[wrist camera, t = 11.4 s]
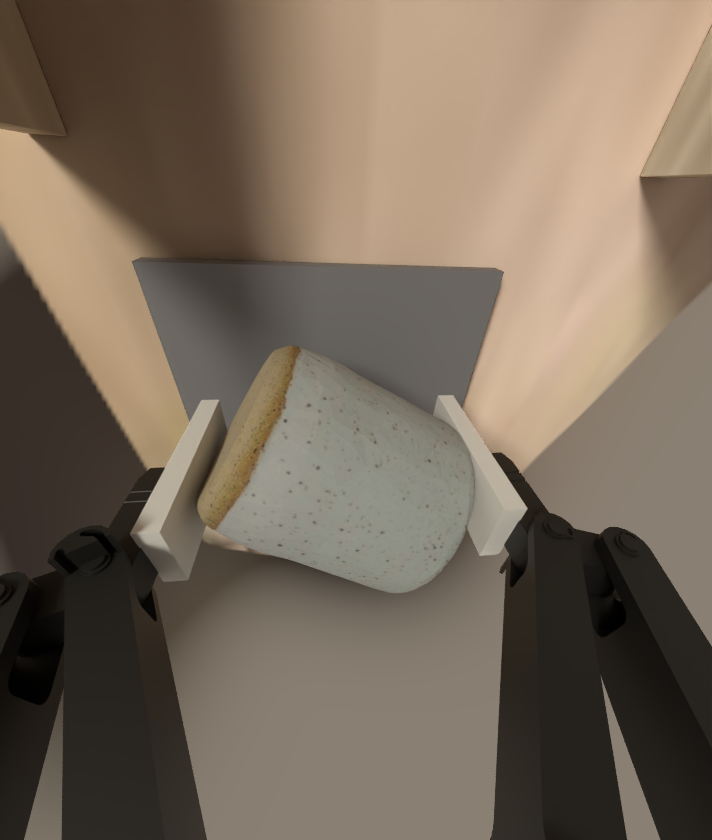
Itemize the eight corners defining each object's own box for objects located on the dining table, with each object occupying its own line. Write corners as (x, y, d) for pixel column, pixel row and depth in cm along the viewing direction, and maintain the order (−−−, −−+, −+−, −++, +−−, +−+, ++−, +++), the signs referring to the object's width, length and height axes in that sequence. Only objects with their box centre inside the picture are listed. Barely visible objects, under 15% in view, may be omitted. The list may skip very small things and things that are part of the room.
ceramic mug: (287, 300, 12) (252, 430, 6) (440, 391, 15) (520, 534, 9) (200, 468, 17) (134, 630, 11) (329, 508, 20) (333, 649, 14)
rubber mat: (216, 478, 20) (213, 488, 19) (141, 257, 12) (131, 261, 11) (436, 468, 22) (440, 476, 21) (495, 267, 14) (503, 272, 13)
